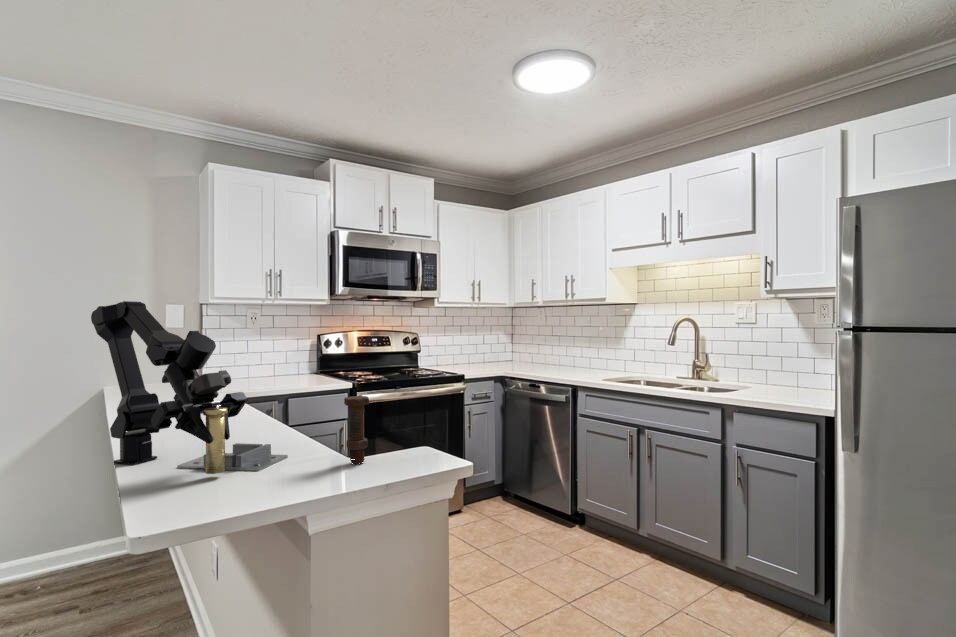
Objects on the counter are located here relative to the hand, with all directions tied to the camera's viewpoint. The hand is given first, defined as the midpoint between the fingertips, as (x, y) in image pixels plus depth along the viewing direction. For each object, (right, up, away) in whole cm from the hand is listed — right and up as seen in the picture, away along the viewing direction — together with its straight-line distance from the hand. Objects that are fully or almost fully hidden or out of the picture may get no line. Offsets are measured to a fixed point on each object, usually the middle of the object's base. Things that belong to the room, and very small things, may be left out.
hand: (219, 440), depth 109 cm
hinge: (-3, -8, +13) cm, 16 cm away
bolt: (+26, -8, +11) cm, 29 cm away
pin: (-1, -7, +1) cm, 7 cm away
